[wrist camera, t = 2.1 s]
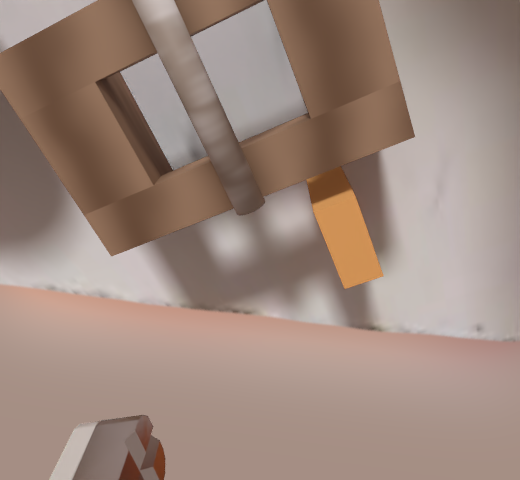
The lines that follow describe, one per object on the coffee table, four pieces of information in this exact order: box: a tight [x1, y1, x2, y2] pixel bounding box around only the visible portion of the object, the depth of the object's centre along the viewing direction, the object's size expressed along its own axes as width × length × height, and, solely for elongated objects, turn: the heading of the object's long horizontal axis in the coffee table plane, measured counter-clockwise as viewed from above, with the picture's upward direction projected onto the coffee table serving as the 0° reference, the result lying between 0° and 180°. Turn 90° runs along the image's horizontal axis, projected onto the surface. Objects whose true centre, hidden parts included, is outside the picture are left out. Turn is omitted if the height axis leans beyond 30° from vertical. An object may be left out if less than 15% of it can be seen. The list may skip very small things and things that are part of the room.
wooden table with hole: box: [0, 0, 415, 256], centre depth 30 cm, size 22×14×14 cm, turn 113°
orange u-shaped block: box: [307, 166, 383, 289], centre depth 35 cm, size 7×3×11 cm, turn 23°
